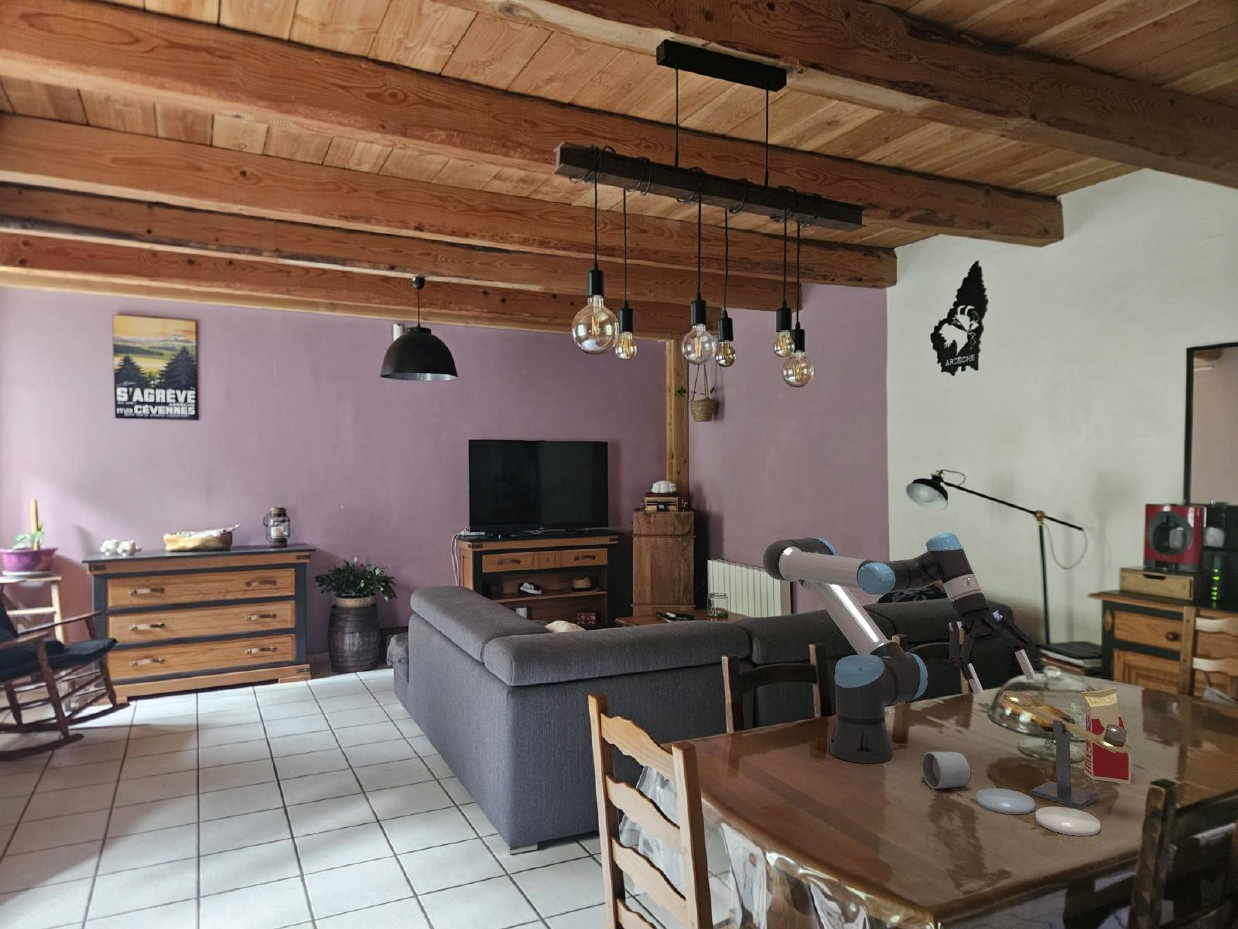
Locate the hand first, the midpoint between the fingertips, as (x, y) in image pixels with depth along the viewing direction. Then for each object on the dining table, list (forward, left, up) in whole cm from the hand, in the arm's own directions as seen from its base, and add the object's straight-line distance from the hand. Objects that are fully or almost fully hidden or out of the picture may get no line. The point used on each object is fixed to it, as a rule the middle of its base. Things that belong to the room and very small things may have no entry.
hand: (1005, 686), depth 180 cm
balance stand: (+12, -1, -21) cm, 24 cm away
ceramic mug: (-8, -14, -21) cm, 26 cm away
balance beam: (+12, -1, -5) cm, 13 cm away
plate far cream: (+19, -14, -21) cm, 31 cm away
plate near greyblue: (+6, -14, -21) cm, 26 cm away
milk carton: (+12, +19, -21) cm, 31 cm away
